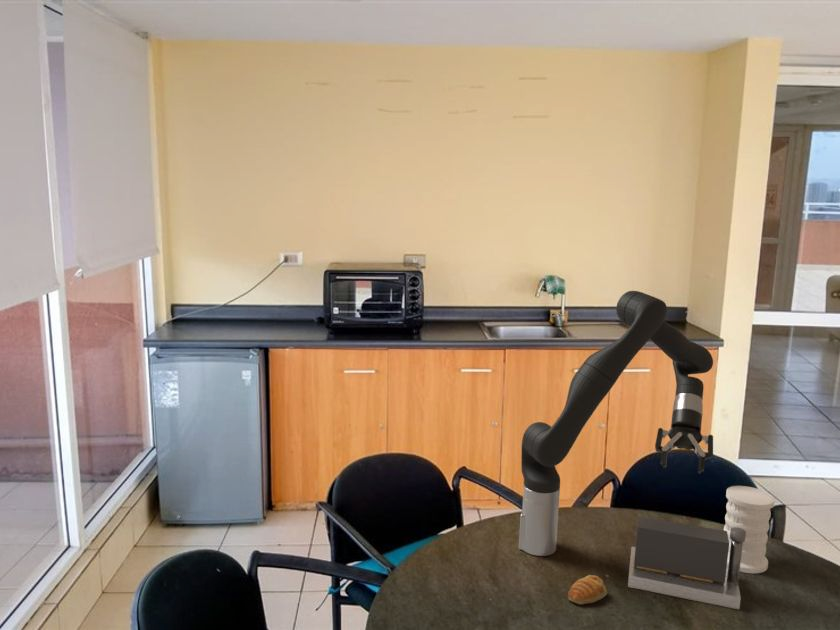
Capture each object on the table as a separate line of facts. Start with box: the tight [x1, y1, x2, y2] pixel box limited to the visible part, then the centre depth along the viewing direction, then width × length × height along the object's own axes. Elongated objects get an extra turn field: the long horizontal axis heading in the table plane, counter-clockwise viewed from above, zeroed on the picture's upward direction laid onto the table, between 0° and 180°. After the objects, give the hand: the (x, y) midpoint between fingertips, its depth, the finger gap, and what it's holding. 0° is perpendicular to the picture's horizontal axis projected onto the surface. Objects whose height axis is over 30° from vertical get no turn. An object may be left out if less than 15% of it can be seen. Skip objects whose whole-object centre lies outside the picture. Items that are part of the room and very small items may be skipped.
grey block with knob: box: [634, 515, 746, 583], centre depth 157 cm, size 24×6×12 cm, turn 70°
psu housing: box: [627, 540, 743, 610], centre depth 158 cm, size 24×14×13 cm, turn 70°
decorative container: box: [723, 485, 775, 574], centre depth 168 cm, size 12×12×18 cm
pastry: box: [567, 574, 608, 606], centre depth 152 cm, size 9×7×4 cm
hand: (681, 469), depth 173 cm, fingers open, 8 cm apart
